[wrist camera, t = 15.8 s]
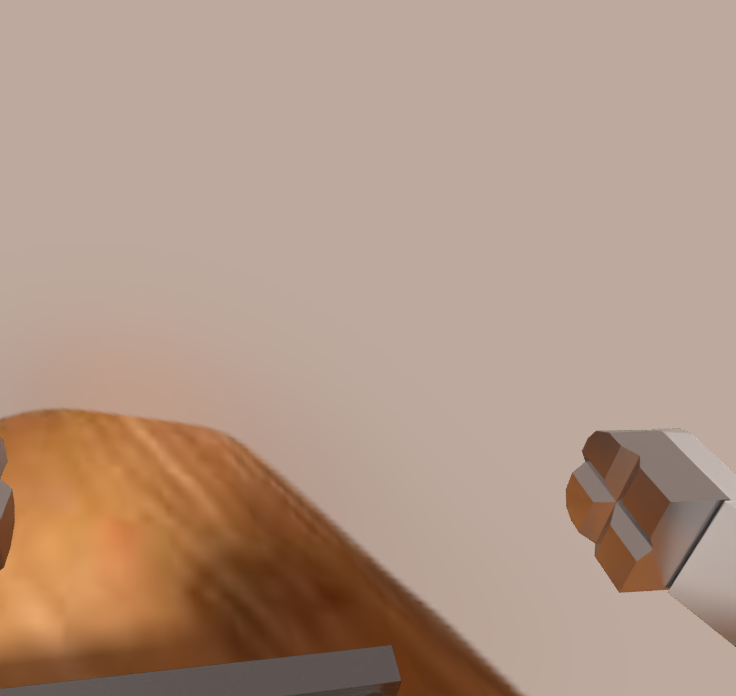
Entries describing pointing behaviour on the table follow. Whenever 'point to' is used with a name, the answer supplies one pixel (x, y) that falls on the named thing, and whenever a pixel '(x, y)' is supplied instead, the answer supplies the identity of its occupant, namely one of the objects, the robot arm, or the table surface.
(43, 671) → the table surface
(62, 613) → the table surface
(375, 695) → the phone stand
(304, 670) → the track rails
